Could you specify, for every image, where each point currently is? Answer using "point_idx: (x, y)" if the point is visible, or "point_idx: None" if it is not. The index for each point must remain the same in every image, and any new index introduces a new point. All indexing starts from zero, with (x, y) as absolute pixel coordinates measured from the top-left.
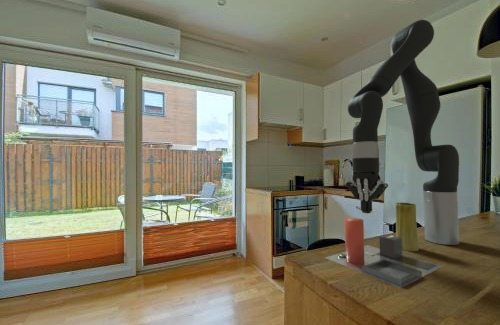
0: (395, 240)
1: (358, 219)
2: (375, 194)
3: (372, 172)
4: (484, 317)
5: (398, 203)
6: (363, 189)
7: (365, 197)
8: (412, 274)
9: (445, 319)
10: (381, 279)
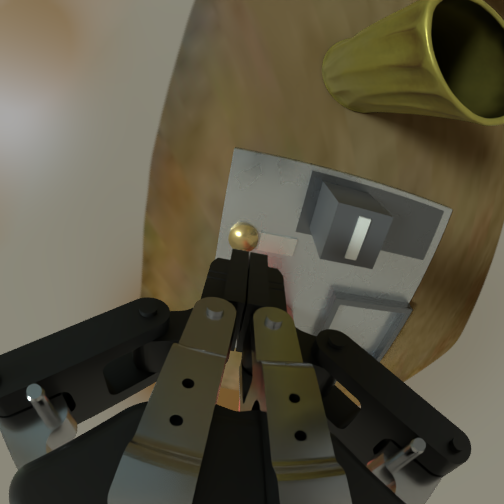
0: (375, 257)
1: None
2: (343, 416)
3: None
4: (448, 347)
5: (430, 14)
6: (167, 384)
7: (248, 382)
8: (395, 335)
9: (410, 376)
10: None
